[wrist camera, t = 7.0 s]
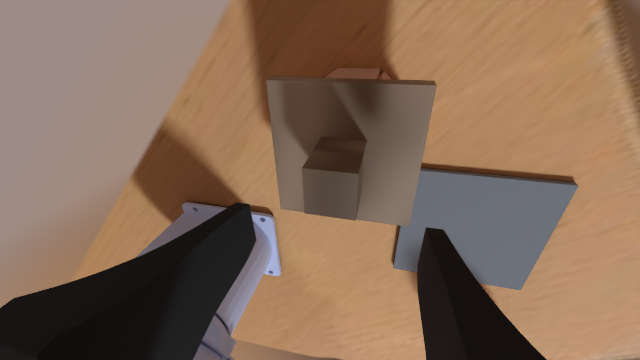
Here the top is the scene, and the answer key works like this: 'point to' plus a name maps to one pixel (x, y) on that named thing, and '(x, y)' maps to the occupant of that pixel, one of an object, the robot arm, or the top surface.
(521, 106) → the top surface
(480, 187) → the mat
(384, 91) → the lid
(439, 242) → the robot arm
